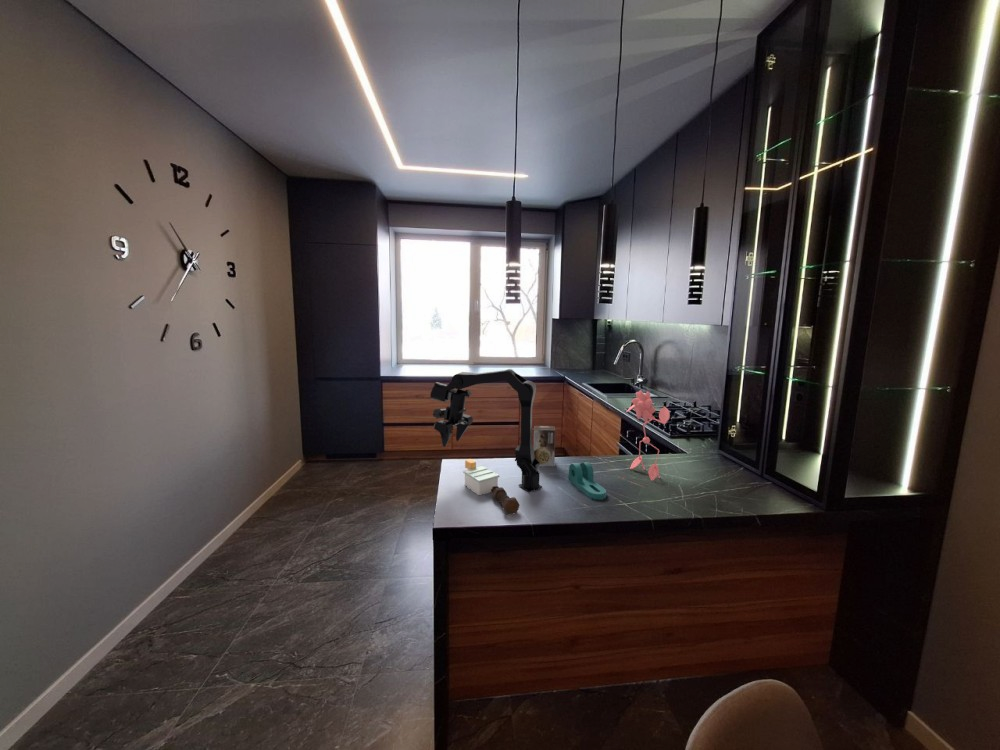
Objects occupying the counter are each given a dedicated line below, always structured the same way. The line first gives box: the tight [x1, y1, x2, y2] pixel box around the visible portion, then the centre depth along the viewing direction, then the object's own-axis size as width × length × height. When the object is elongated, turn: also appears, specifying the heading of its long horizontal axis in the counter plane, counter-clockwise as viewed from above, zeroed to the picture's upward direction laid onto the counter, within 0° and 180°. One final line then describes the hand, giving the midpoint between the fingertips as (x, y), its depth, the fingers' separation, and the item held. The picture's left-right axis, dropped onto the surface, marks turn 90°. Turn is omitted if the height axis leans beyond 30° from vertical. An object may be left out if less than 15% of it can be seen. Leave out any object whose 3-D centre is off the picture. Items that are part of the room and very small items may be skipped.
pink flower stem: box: [621, 389, 671, 487], centre depth 155 cm, size 15×26×35 cm, turn 17°
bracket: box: [568, 461, 607, 500], centre depth 145 cm, size 18×7×8 cm, turn 18°
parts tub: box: [464, 474, 499, 496], centre depth 144 cm, size 10×8×5 cm
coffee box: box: [533, 425, 556, 467], centre depth 168 cm, size 9×6×16 cm
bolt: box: [490, 486, 521, 515], centre depth 132 cm, size 6×5×15 cm
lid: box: [463, 458, 500, 483], centre depth 145 cm, size 15×9×3 cm, turn 36°
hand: (450, 443), depth 151 cm, fingers open, 9 cm apart
